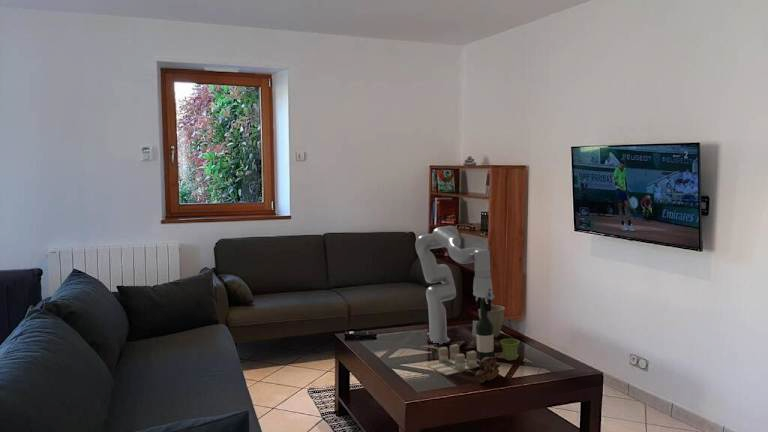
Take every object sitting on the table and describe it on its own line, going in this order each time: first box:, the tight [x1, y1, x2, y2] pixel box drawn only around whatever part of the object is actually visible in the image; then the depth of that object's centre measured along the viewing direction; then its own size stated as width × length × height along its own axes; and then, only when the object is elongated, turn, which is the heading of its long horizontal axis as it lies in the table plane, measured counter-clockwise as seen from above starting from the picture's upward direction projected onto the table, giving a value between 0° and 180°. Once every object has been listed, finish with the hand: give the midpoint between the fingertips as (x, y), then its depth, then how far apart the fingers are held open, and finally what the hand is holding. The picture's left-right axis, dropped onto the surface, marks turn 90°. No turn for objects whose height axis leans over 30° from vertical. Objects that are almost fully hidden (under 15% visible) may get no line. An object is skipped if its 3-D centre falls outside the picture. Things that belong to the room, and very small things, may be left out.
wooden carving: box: [474, 356, 501, 383], centre depth 260 cm, size 16×5×10 cm, turn 139°
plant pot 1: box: [477, 304, 505, 338], centre depth 328 cm, size 15×15×16 cm
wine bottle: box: [476, 298, 495, 361], centre depth 289 cm, size 8×8×30 cm
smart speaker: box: [471, 320, 479, 347], centre depth 311 cm, size 10×9×14 cm
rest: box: [426, 343, 480, 376], centre depth 280 cm, size 16×20×8 cm
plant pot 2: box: [499, 338, 520, 361], centre depth 287 cm, size 9×9×9 cm
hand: (483, 309), depth 288 cm, fingers open, 5 cm apart
